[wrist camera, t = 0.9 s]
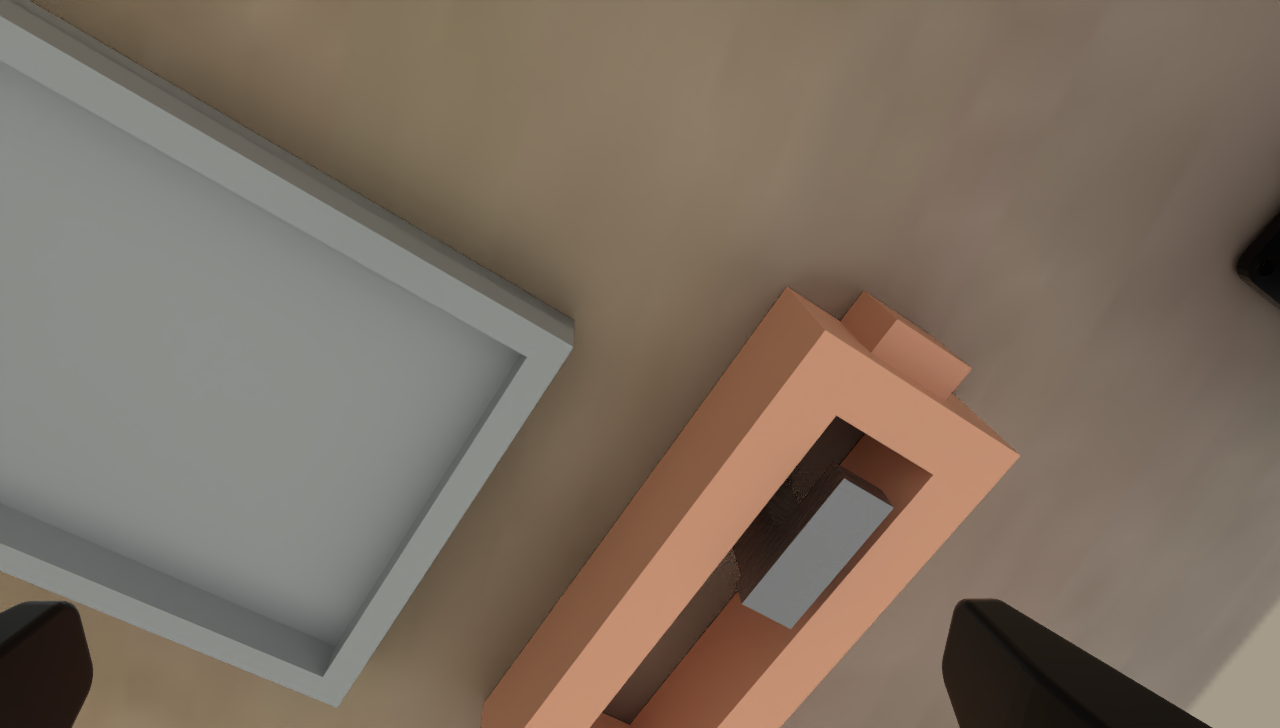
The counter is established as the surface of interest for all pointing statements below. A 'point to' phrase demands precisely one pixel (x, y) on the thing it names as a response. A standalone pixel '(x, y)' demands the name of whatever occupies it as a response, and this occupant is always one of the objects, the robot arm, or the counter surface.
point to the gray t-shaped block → (805, 542)
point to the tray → (231, 371)
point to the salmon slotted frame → (729, 502)
